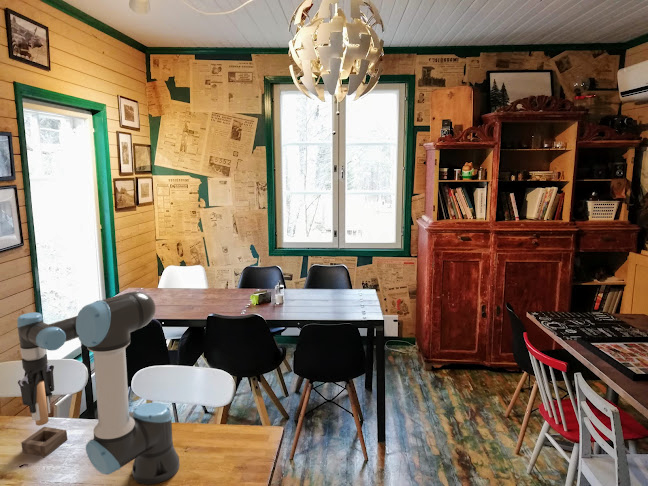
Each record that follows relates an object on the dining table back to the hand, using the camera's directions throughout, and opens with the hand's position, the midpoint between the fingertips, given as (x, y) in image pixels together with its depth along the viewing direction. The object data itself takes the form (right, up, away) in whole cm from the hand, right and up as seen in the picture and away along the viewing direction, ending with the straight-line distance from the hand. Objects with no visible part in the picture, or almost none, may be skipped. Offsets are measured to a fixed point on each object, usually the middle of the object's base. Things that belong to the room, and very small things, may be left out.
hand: (41, 415), depth 166 cm
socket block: (0, -12, +2) cm, 12 cm away
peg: (0, -3, +1) cm, 3 cm away
